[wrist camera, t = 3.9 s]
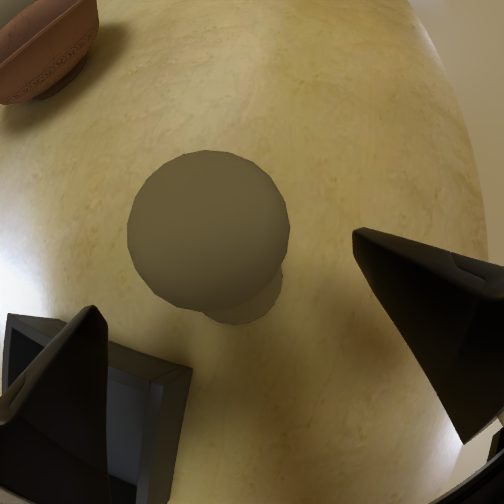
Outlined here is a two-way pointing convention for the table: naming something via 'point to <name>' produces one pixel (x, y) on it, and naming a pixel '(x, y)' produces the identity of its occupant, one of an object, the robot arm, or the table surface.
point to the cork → (211, 236)
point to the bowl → (45, 48)
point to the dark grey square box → (120, 408)
